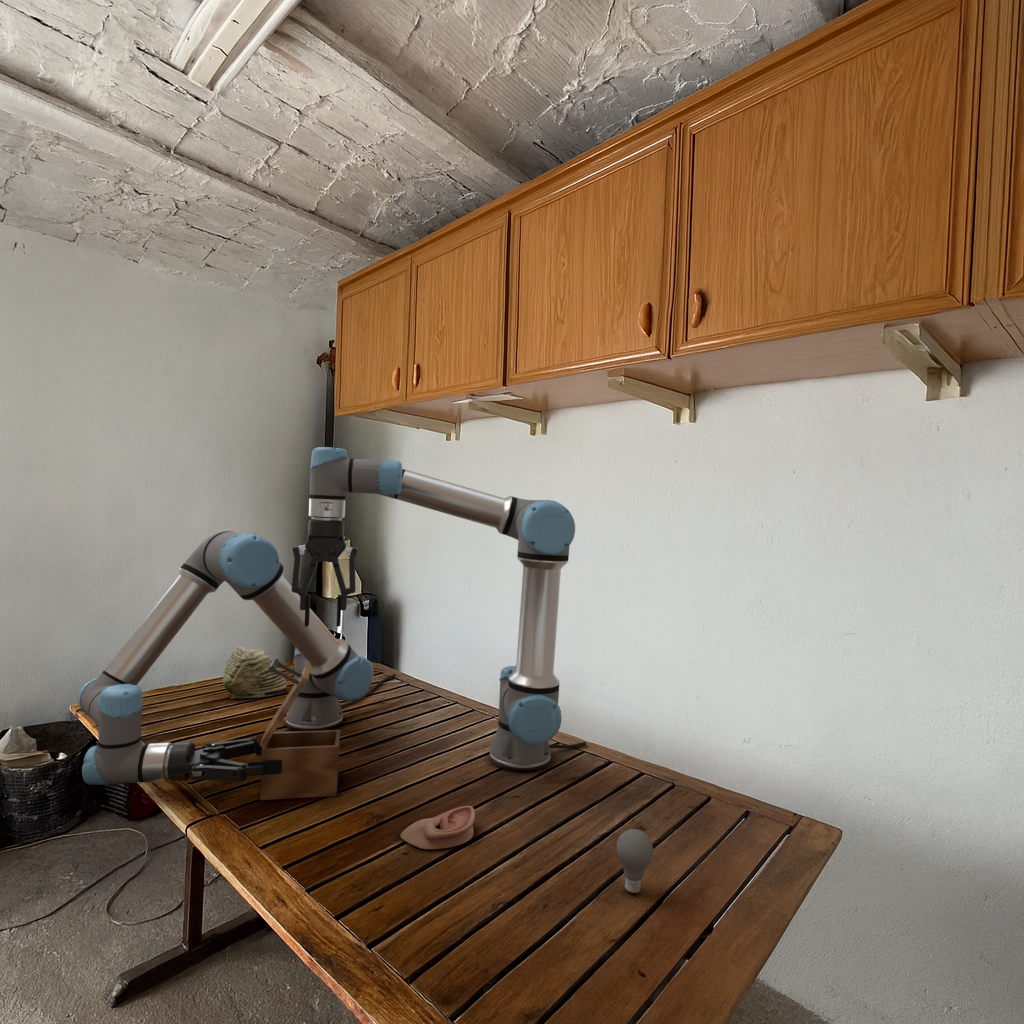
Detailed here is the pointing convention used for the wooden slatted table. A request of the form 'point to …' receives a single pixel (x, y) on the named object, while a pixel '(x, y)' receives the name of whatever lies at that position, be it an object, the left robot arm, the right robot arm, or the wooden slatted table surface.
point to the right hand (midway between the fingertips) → (322, 625)
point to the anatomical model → (442, 829)
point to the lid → (289, 699)
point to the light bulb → (634, 857)
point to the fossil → (251, 675)
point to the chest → (302, 765)
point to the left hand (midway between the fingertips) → (284, 756)
